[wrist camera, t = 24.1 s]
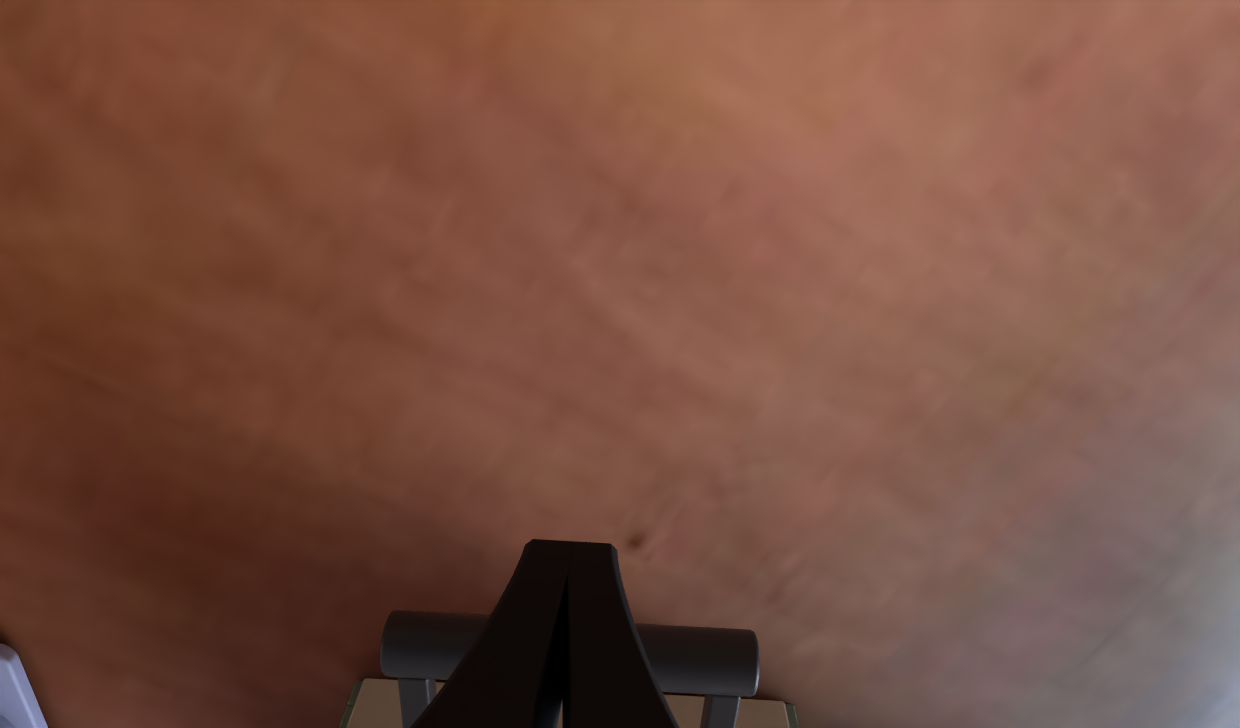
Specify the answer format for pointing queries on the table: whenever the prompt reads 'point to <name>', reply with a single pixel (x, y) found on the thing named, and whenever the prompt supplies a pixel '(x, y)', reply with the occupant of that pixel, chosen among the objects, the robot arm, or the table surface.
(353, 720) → the drawer
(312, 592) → the table surface
